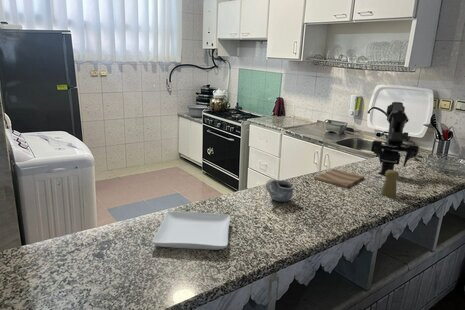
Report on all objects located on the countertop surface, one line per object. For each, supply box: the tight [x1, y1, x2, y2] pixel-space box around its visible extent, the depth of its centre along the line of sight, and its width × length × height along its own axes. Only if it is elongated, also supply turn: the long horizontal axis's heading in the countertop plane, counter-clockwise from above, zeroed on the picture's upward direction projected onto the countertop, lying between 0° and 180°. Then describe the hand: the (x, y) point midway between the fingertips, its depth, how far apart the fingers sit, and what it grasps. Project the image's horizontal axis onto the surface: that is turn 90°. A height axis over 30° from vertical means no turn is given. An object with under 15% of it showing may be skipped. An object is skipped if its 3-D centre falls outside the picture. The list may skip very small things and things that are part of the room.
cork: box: [380, 169, 400, 199], centre depth 145 cm, size 6×6×11 cm
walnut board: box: [314, 168, 365, 189], centre depth 165 cm, size 20×16×1 cm
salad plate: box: [151, 210, 231, 251], centre depth 104 cm, size 21×21×3 cm
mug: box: [265, 177, 295, 203], centre depth 133 cm, size 10×12×10 cm
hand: (392, 164), depth 149 cm, fingers open, 9 cm apart
